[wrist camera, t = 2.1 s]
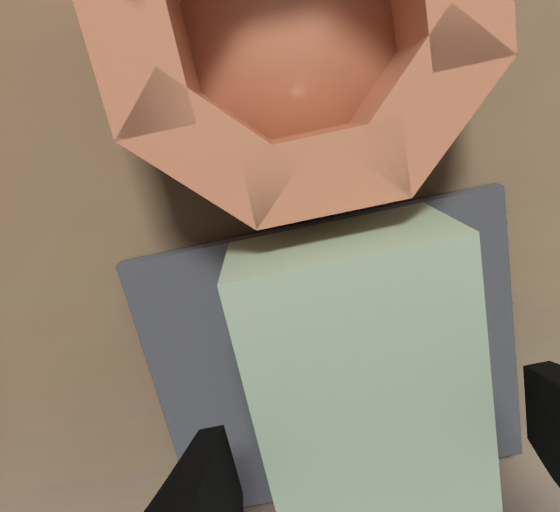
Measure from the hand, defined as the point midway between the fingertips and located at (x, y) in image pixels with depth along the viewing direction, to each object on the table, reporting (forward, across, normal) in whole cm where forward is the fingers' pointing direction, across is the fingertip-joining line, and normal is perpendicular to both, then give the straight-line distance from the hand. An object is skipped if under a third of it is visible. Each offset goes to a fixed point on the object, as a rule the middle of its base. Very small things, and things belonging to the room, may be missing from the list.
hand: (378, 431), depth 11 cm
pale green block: (+3, 0, 0) cm, 3 cm away
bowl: (+4, 0, -9) cm, 10 cm away
